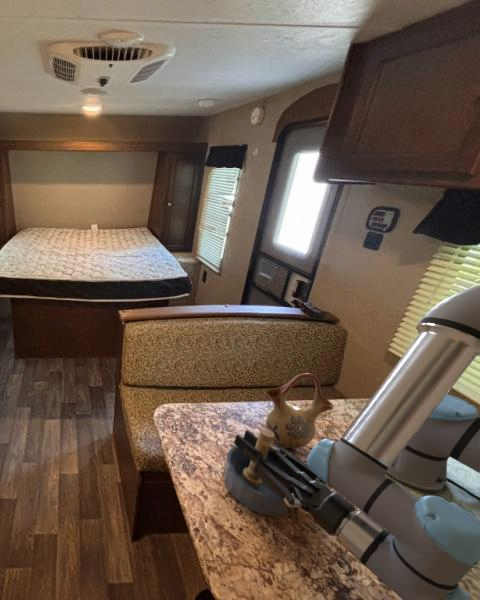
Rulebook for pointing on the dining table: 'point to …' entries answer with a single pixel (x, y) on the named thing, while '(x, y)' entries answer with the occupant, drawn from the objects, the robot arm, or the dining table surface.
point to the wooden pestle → (263, 448)
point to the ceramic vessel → (295, 415)
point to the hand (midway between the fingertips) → (240, 436)
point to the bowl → (252, 498)
